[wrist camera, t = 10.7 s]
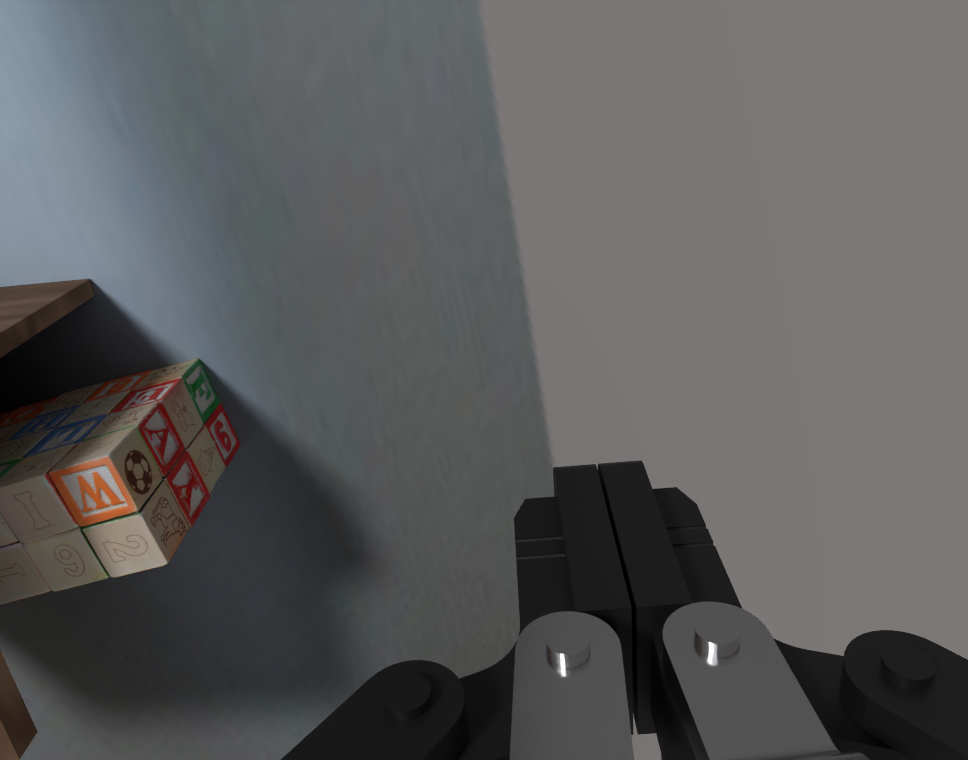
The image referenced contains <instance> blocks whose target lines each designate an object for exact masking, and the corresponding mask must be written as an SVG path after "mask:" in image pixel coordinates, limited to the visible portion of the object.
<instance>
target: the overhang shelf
mask: <svg viewBox="0 0 968 760" xmlns="http://www.w3.org/2000/svg"><path fill="white" fill-rule="evenodd" d="M94 296H95V294H94V291H93V288H92V285H91V281H90V279H83V280H72V281H61V282H51V283H40V284H30V285H19V286H9V287H0V358H1V357H2V356H4V355H5V354H7V353H8V352H10V351H11V350H13V349H15V348H16V347H18V346H19V345H21V344H22V343H24V342H25V341H27V340H28V339H30V338H31V337H33V336H34V335H36V334H37V333H39V332H40V331H42V330H44V329H45V328H47V327H48V326H50V325H51V324H53V323H54V322H56V321H57V320H59V319H60V318H62V317H63V316H65V315H66V314H68V313H69V312H71V311H73V310H74V309H76V308H77V307H79V306H80V305H82V304H83V303H85V302H86V301H88V300H89V299H91V298H92V297H94ZM36 733H37V730H36V728H35V725H34V723H33V721H32V719H31V717H30V714H29V712H28V710H27V708H26V706H25V703H24V701H23V699H22V697H21V695H20V692H19V690H18V688H17V686H16V684H15V681H14V679H13V677H12V675H11V673H10V670H9V668H8V666H7V664H6V661H5V659H4V657H3V655H2V653H1V650H0V760H20V758H21V756H22V755H23V753H24V752H25V750H26V749H27V747H28V746H29V744H30V743H31V741H32V740H33V738H34V736H35V735H36Z"/></svg>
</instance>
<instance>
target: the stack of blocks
mask: <svg viewBox="0 0 968 760" xmlns="http://www.w3.org/2000/svg"><path fill="white" fill-rule="evenodd" d="M239 447H240V442H239V440H238V438H237V436H236V434H235V432H234V430H233V428H232V425H231V423H230V421H229V419H228V417H227V415H226V413H225V411H224V409H223V406H222V404H221V403H220V402H219V400H218V398H217V395H216V393H215V391H214V389H213V387H212V385H211V383H210V380H209V378H208V376H207V374H206V372H205V370H204V368H203V365H202V363H201V361H200V359H199V358H196V359H193V360H189V361H185V362H182V363H178V364H174V365H171V366H167V367H163V368H159V369H156V370H147V371H143V372H140V373H136V374H132V375H129V376H125V377H122V378H118V379H114V380H111V381H107V382H104V383H100V384H95V385H91V386H88V387H84V388H81V389H77V390H74V391H70V392H66V393H63V394H61V395H60V396H58V397H56V398H52V399H49V400H45V401H42V402H38V403H34V404H31V405H27V406H23V407H20V408H18V409H16V410H13V411H9V412H5V413H1V414H0V605H1V604H6V603H10V602H14V601H18V600H21V599H24V598H27V597H32V596H36V595H40V594H44V593H47V592H49V591H55V592H56V591H60V590H64V589H68V588H72V587H76V586H80V585H84V584H88V583H92V582H96V581H100V580H103V579H107V578H109V577H110V576H111V577H120V576H124V575H128V574H132V573H136V572H140V571H144V570H148V569H153V568H157V567H161V566H164V565H166V564H168V563H169V561H170V560H171V558H172V557H173V555H174V554H175V552H176V550H177V548H178V547H179V545H180V543H181V541H182V540H183V538H184V536H185V534H186V533H187V531H188V528H190V527H192V526H193V525H194V523H195V521H196V520H197V518H198V517H199V515H200V513H201V512H202V510H203V508H204V507H205V505H206V503H207V501H208V500H209V498H210V494H211V493H212V491H213V489H214V487H215V485H216V483H217V482H218V480H219V479H220V477H221V475H222V474H223V472H224V470H225V469H226V468H227V466H228V465H229V463H230V462H231V460H232V458H233V456H234V455H235V453H236V452H237V450H238V448H239Z"/></svg>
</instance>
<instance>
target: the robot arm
mask: <svg viewBox="0 0 968 760" xmlns="http://www.w3.org/2000/svg"><path fill="white" fill-rule="evenodd" d="M553 479H554V496H555V497H544V498H531V499H525V500H524V502H523V504H522V505H521V507H520V509H519V510H518V512H517V514H516V516H515V517H514V526H515V542H516V543H515V544H516V559H517V578H518V595H519V612H520V632H519V636H518V639H517V641H516V643H515V645H514V647H513V648H512V649H511V651H510V652H509V653H508V654H507V655H506V656H505V657H504V658H503V659H502V660H500V661H499V662H498V663H496V664H494V665H493V666H491V667H489V668H487V669H485V670H482V671H480V672H477V673H474V674H471V675H468V676H466V677H463V678H460V679H458V677H457V676H456V675H455V674H454V673H453V672H452V671H451V670H450V669H448V668H447V667H445V666H443V665H441V664H438V663H435V662H431V661H424V660H411V661H405V662H400V663H397V664H394V665H391V666H389V667H387V668H385V669H383V670H381V671H380V672H378V673H376V674H375V675H374V676H373V677H371V678H370V679H369V680H368V681H367V682H366V683H365V684H363V685H362V686H361V687H360V688H359V689H358V690H357V691H356V692H355V693H354V694H353V695H351V696H350V697H349V698H348V699H347V700H346V701H345V702H344V703H343V704H342V705H340V706H339V707H338V708H337V709H336V710H335V711H334V712H333V713H332V714H331V715H329V716H328V717H327V718H326V719H325V720H324V721H323V722H322V723H321V724H320V725H318V726H317V727H316V728H315V729H314V730H313V731H312V732H311V733H310V734H309V735H307V736H306V737H305V738H304V739H303V740H302V741H301V742H300V743H299V744H298V745H296V746H295V747H294V748H293V749H292V750H291V751H290V752H289V753H288V754H287V755H285V756H284V757H283V758H282V759H281V760H634V755H633V746H632V737H631V735H633V714H634V719H635V723H636V728H637V732H638V734H650V733H657V738H658V742H659V746H660V750H661V760H968V660H967V659H965V658H963V657H961V656H959V655H957V654H955V653H953V652H951V651H949V650H947V649H946V648H944V647H941V646H940V645H938V644H936V643H934V642H931V641H929V640H927V639H925V638H922V637H919V636H917V635H914V634H910V633H905V632H900V631H892V630H887V631H886V630H881V631H872V632H868V633H864V634H862V635H860V636H858V637H856V638H855V639H853V640H852V641H851V642H850V643H849V645H848V646H847V648H846V650H845V653H844V656H840V655H834V654H828V653H822V652H817V651H811V650H806V649H801V648H797V647H793V646H791V645H787V644H785V643H782V642H780V641H778V640H776V639H774V638H773V637H772V636H771V634H770V632H769V631H768V629H767V628H766V626H765V625H764V624H763V623H762V622H761V621H760V620H759V619H758V618H757V617H755V616H754V615H752V614H751V613H749V612H747V611H746V610H744V609H742V607H741V605H740V603H739V600H738V598H737V596H736V593H735V591H734V589H733V586H732V584H731V582H730V579H729V577H728V575H727V573H726V570H725V568H724V566H723V564H722V561H721V559H720V557H719V554H718V552H717V550H716V547H715V546H713V540H712V538H711V536H710V534H709V531H708V529H706V525H705V522H704V520H703V518H702V515H701V513H700V511H699V509H698V506H697V504H696V503H695V502H693V501H692V500H691V499H690V498H689V497H687V496H686V495H685V494H684V493H683V492H681V491H680V490H679V489H678V488H677V487H674V488H662V489H652V487H651V484H650V481H649V478H648V476H647V473H646V470H645V467H644V464H643V462H642V461H629V462H616V463H603V464H598V470H597V467H596V465H595V464H592V465H579V466H566V467H553Z"/></svg>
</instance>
